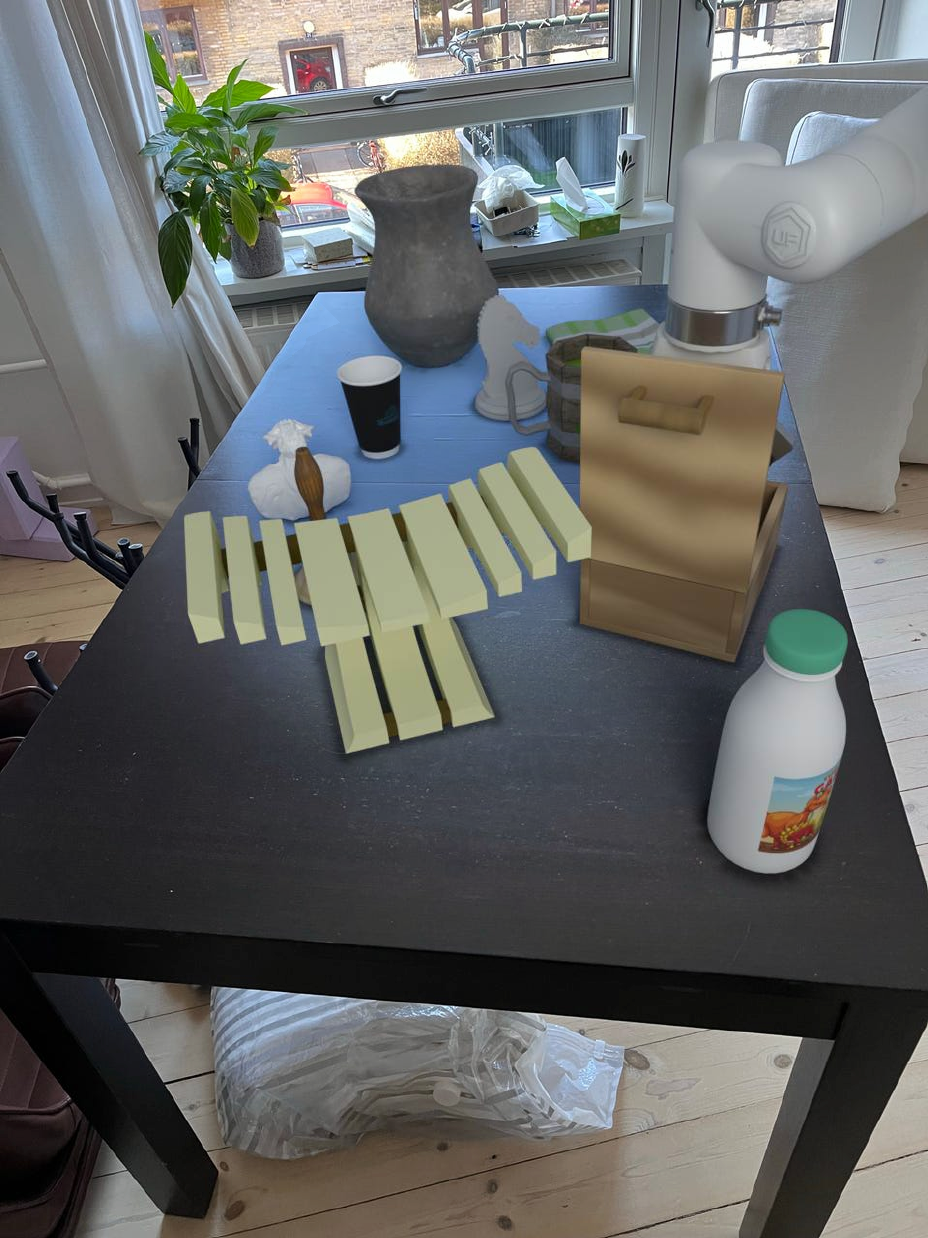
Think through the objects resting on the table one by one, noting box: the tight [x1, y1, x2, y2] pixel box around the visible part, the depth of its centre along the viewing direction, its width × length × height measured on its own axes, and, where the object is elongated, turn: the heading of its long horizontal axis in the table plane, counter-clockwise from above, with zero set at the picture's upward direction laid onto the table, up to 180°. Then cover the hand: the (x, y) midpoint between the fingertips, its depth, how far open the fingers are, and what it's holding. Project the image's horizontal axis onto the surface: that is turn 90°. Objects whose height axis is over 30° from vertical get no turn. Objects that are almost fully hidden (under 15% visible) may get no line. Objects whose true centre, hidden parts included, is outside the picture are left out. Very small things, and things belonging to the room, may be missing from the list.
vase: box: [354, 163, 500, 368], centre depth 126 cm, size 20×19×25 cm
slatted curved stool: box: [183, 446, 592, 754], centre depth 76 cm, size 30×16×18 cm, turn 105°
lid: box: [579, 346, 786, 593], centre depth 69 cm, size 20×15×5 cm
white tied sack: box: [246, 418, 352, 521], centre depth 102 cm, size 12×8×11 cm
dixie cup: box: [336, 355, 403, 460], centre depth 110 cm, size 8×8×11 cm
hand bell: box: [294, 446, 360, 607], centre depth 88 cm, size 8×8×16 cm
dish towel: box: [545, 308, 661, 355], centre depth 128 cm, size 17×23×4 cm
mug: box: [505, 334, 638, 464], centre depth 108 cm, size 16×11×12 cm
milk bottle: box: [706, 608, 848, 874], centre depth 59 cm, size 8×8×20 cm
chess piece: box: [474, 294, 547, 422], centre depth 116 cm, size 10×10×15 cm
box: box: [578, 479, 790, 664], centre depth 86 cm, size 19×15×8 cm
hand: (691, 502), depth 82 cm, fingers closed on food, 6 cm apart
